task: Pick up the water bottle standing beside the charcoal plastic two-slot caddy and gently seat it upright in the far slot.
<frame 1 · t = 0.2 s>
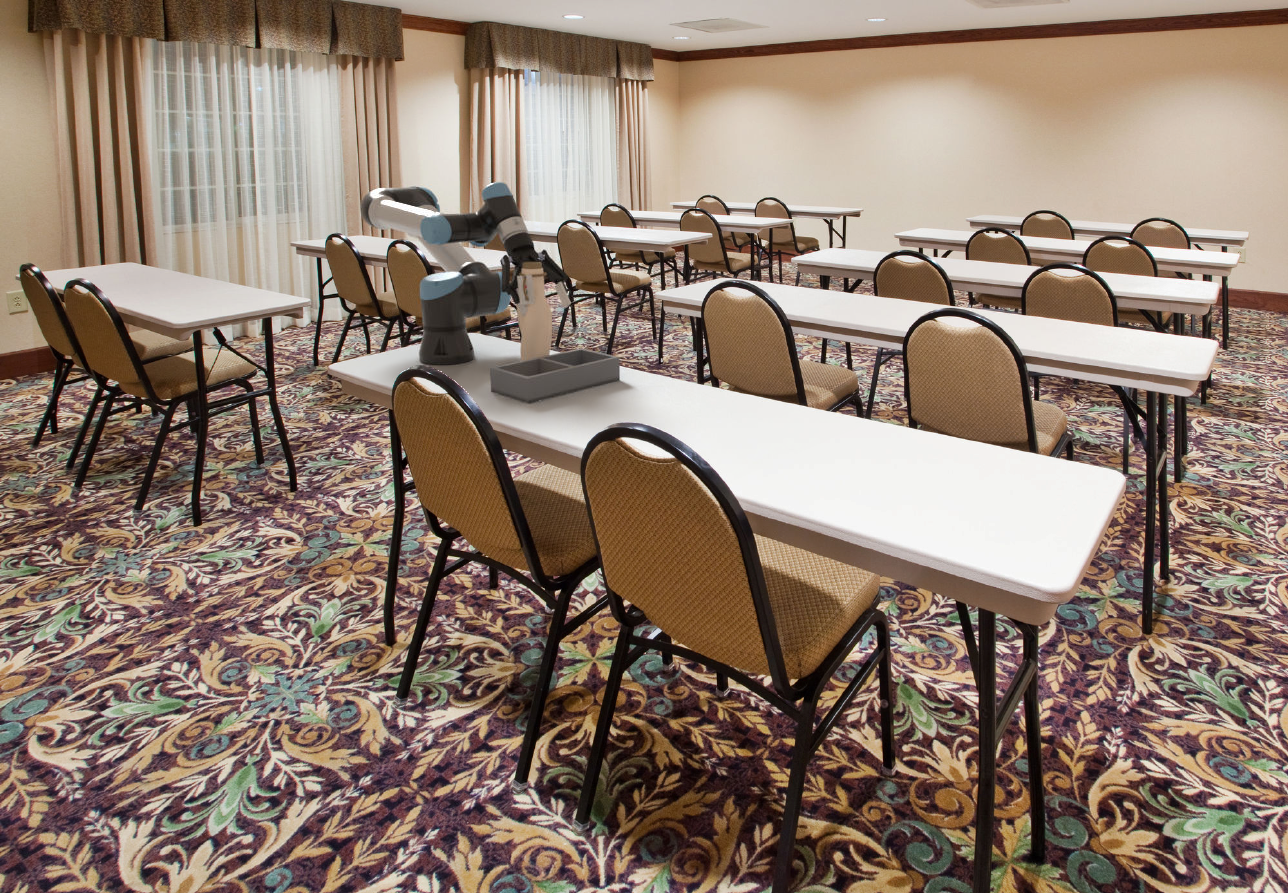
hand: (547, 309, 223), 16 cm above the table, tool tilted 35°, fingers open, 13 cm apart
bottle caddy: (557, 385, 211), on the table
water bottle: (536, 370, 226), on the table
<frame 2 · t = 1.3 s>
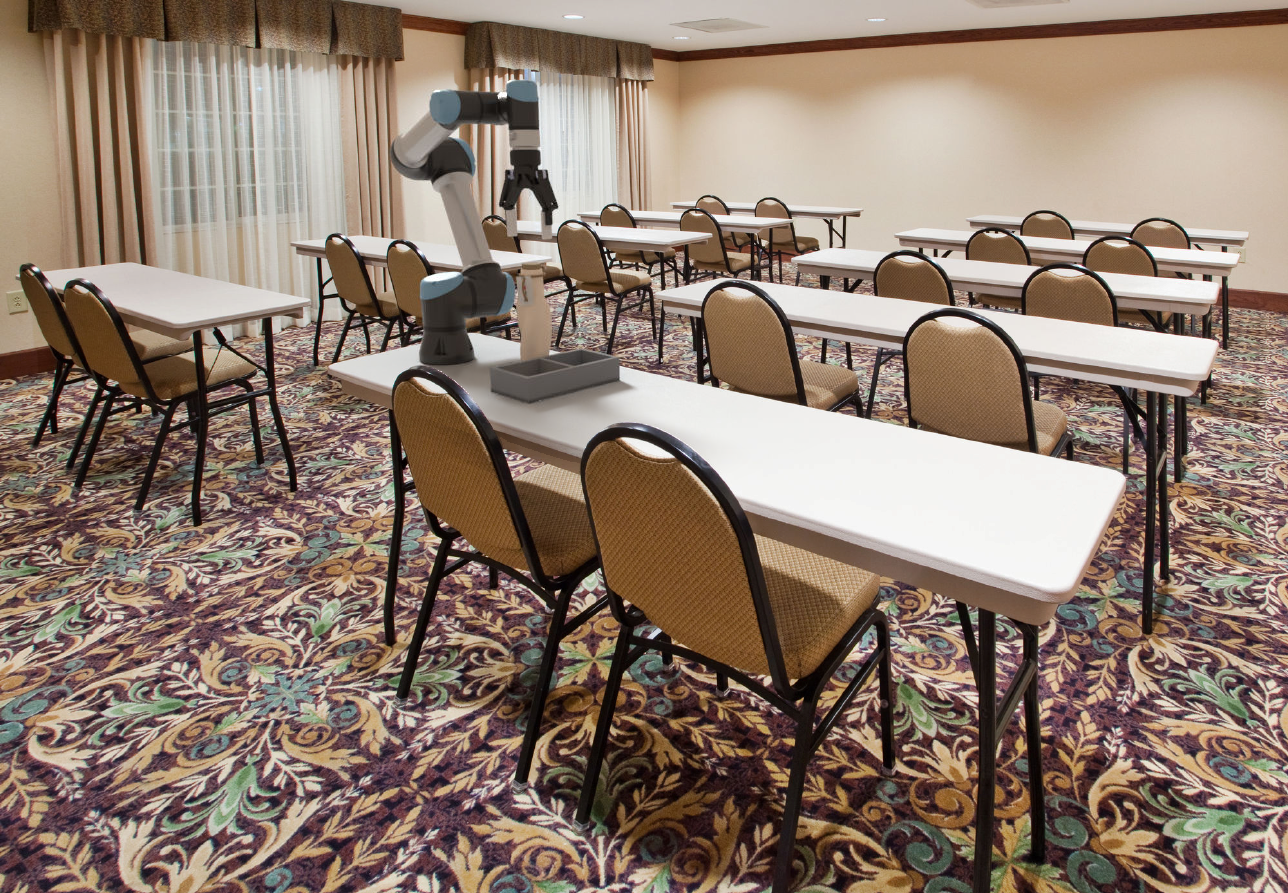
hand: (529, 237, 215), 34 cm above the table, tool pointing down, fingers open, 13 cm apart
nothing on the table moved.
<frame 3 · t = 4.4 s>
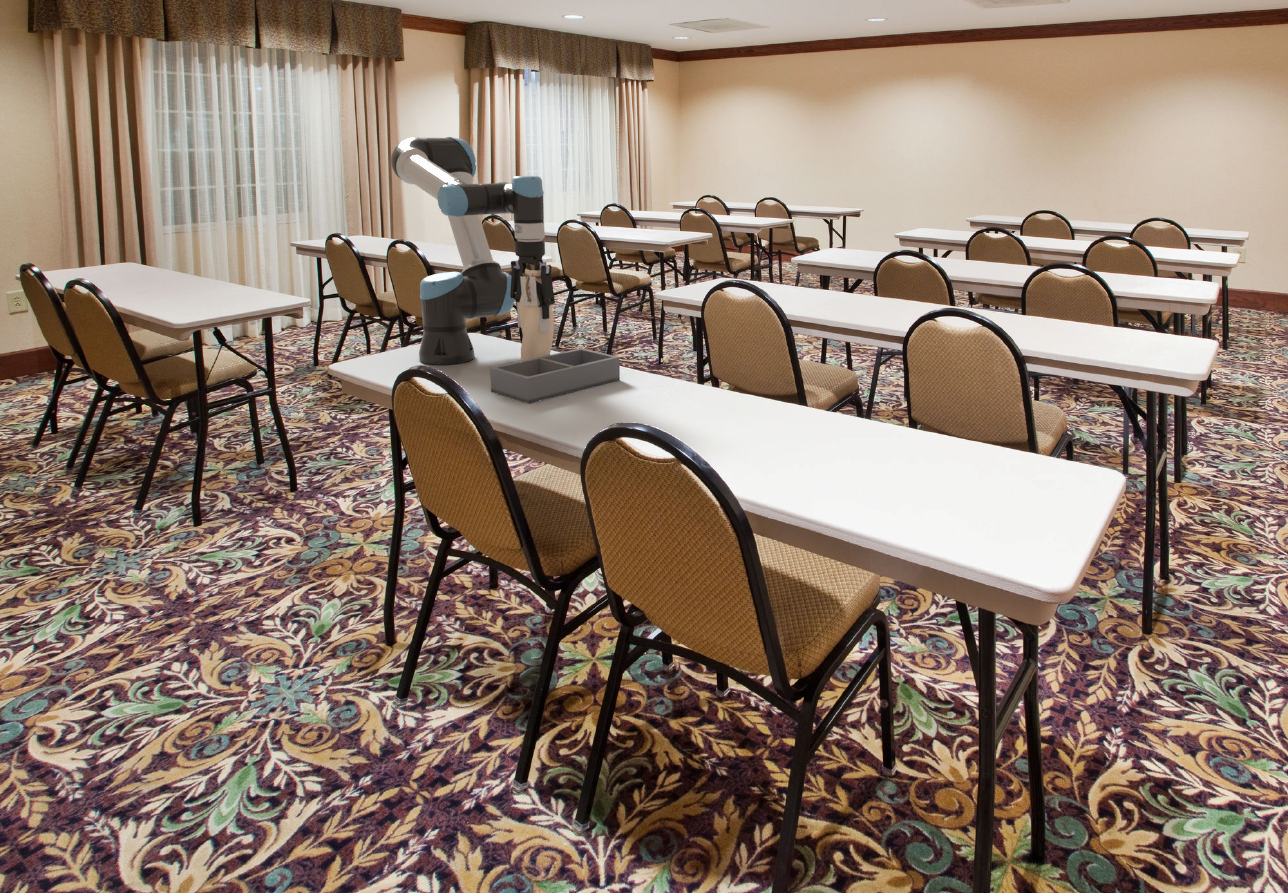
hand: (533, 328, 222), 11 cm above the table, tool pointing down, fingers closed on water bottle, 8 cm apart
water bottle: (535, 370, 226), on the table, touching gripper
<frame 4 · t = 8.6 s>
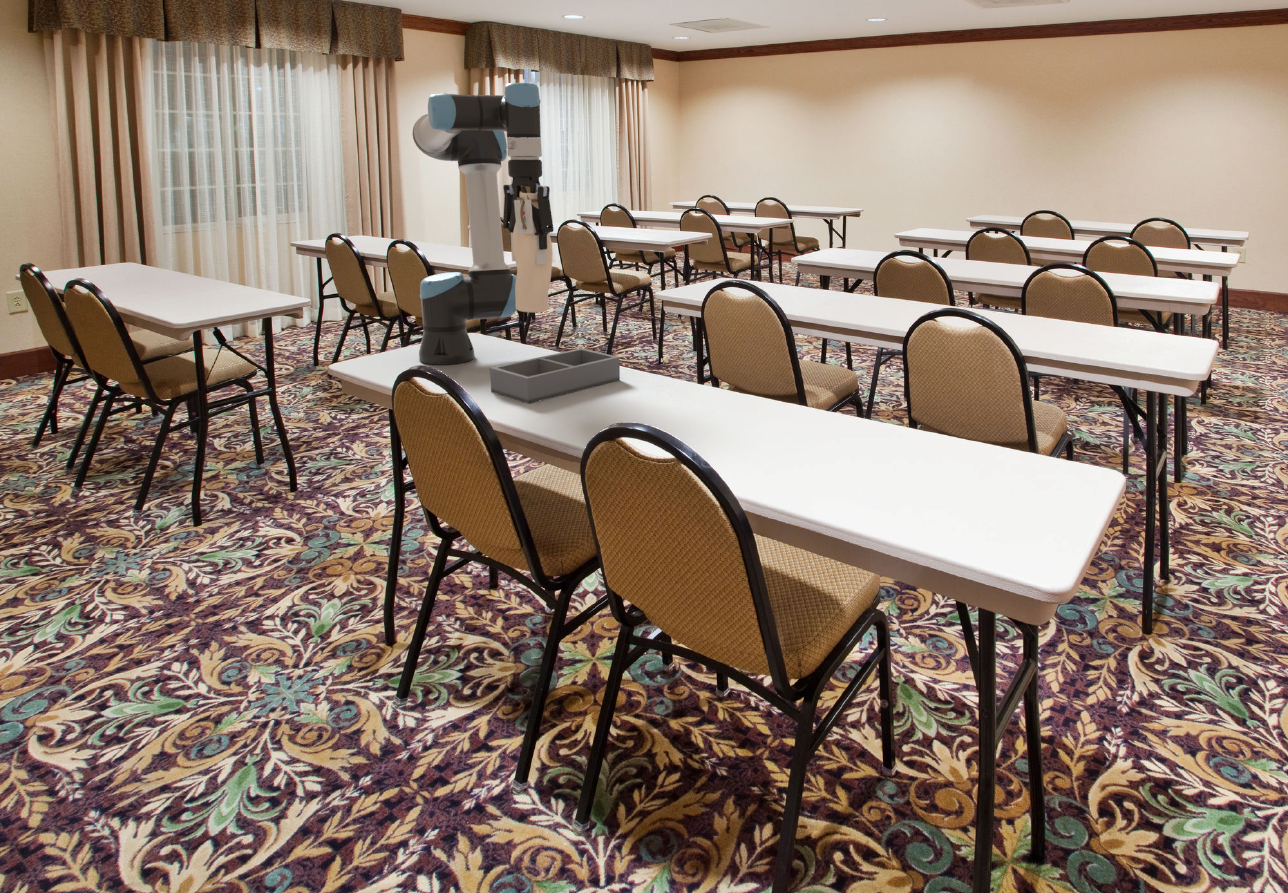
hand: (529, 262, 196), 31 cm above the table, tool pointing down, fingers closed on water bottle, 8 cm apart
water bottle: (532, 310, 200), point 20 cm above the table, touching gripper
when the fingers open (14 cm above the table, at t = 12.6 s): water bottle drops 1 cm, resting on bottle caddy.
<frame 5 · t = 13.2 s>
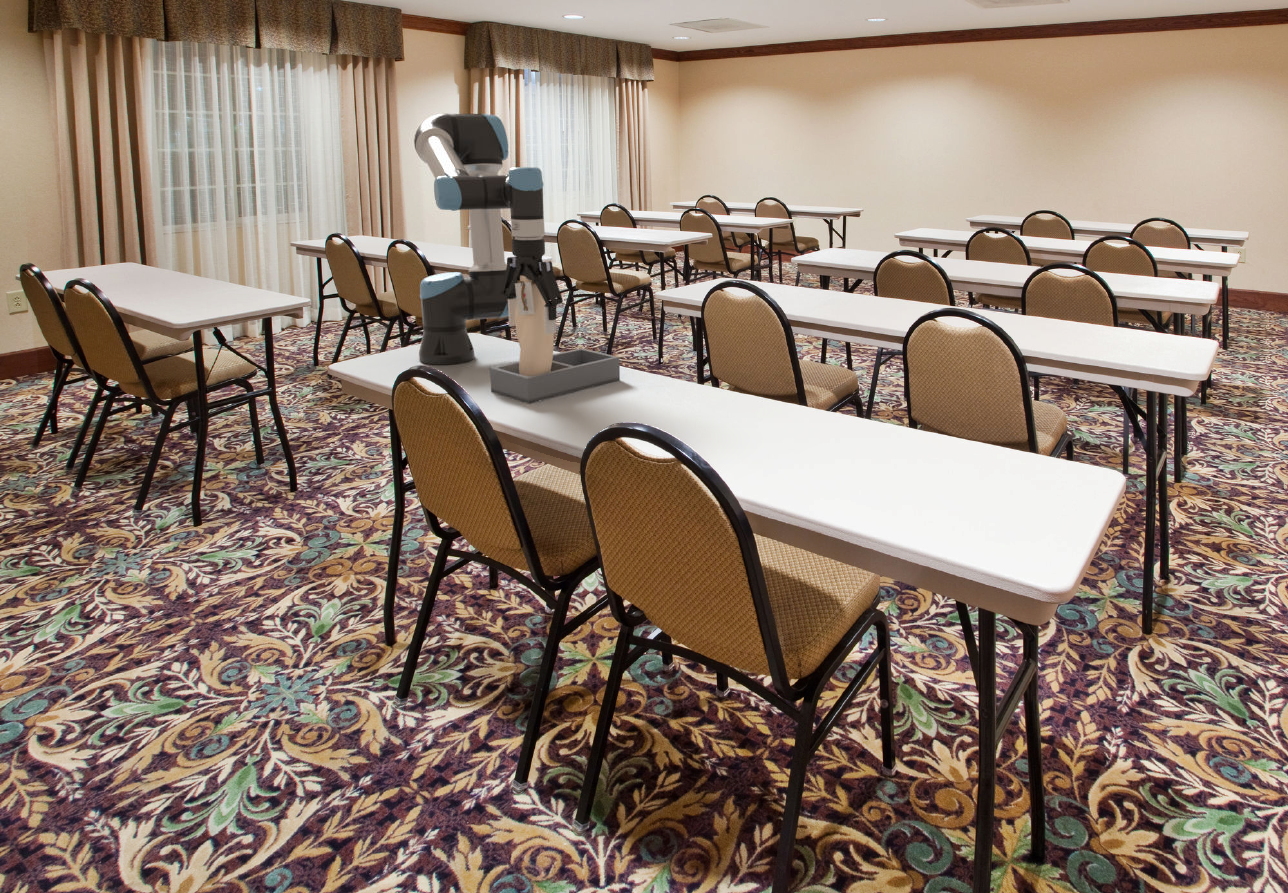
hand: (532, 329, 201), 15 cm above the table, tool pointing down, fingers open, 13 cm apart
water bottle: (536, 387, 206), point 1 cm above the table, touching bottle caddy
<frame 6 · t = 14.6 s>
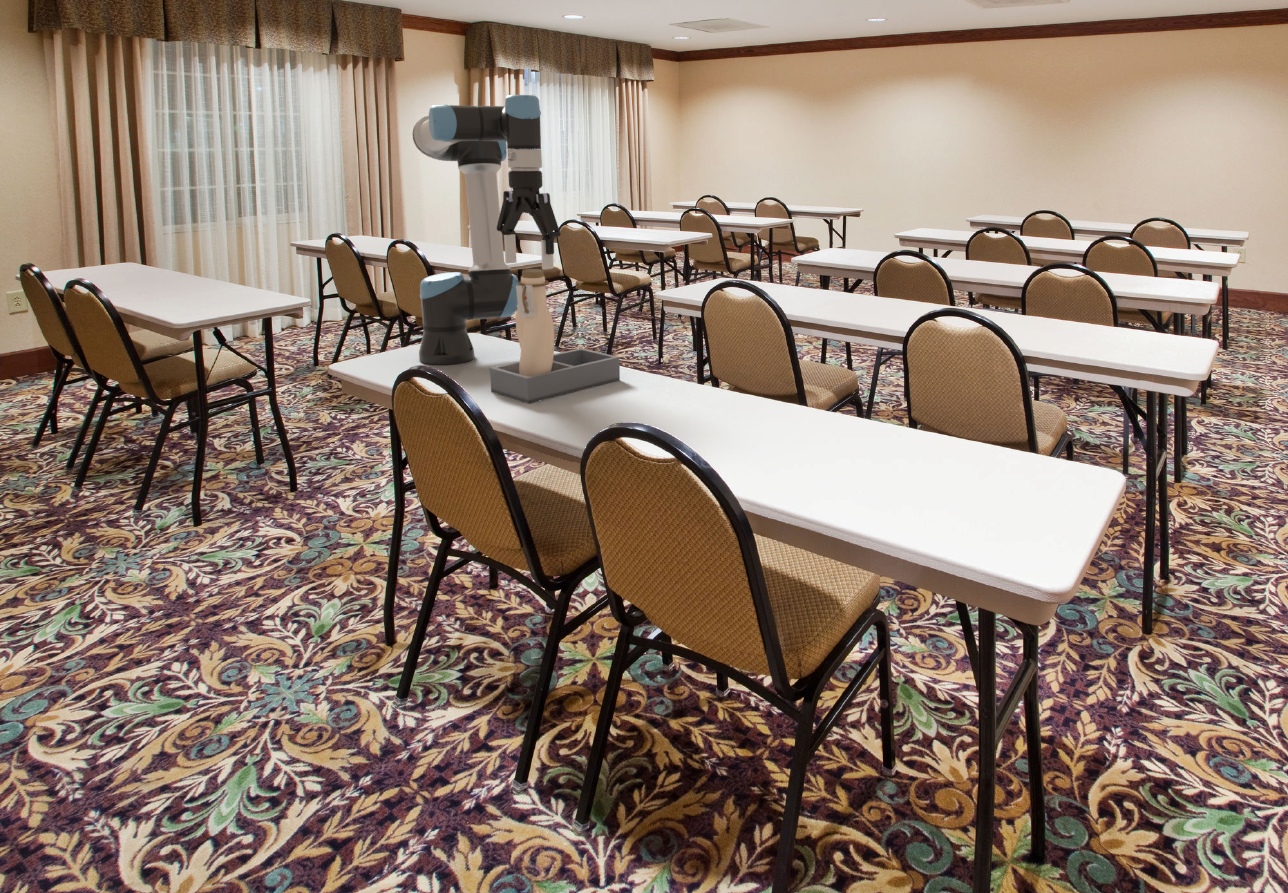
hand: (529, 265, 196), 30 cm above the table, tool pointing down, fingers open, 13 cm apart
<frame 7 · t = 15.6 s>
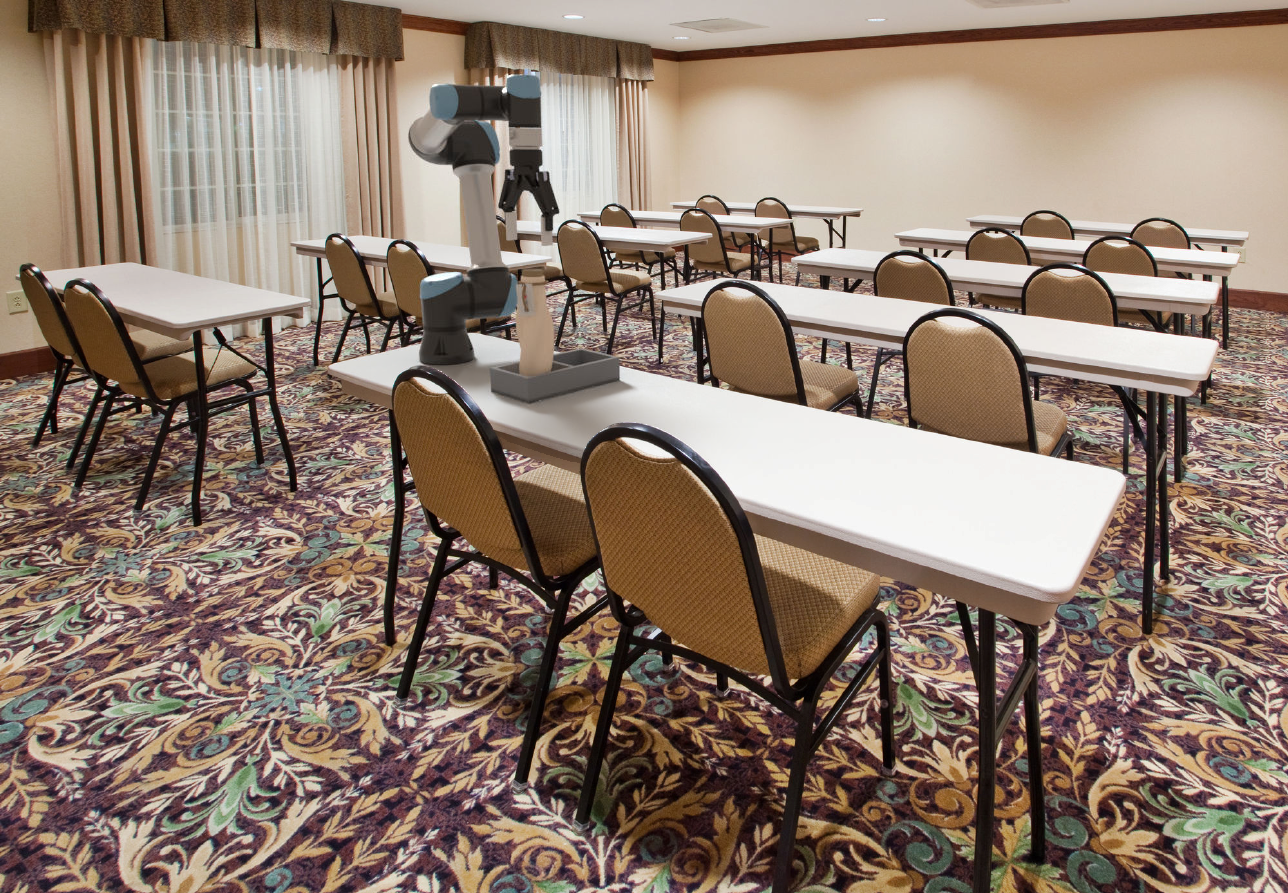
hand: (529, 242, 202), 35 cm above the table, tool pointing down, fingers open, 13 cm apart
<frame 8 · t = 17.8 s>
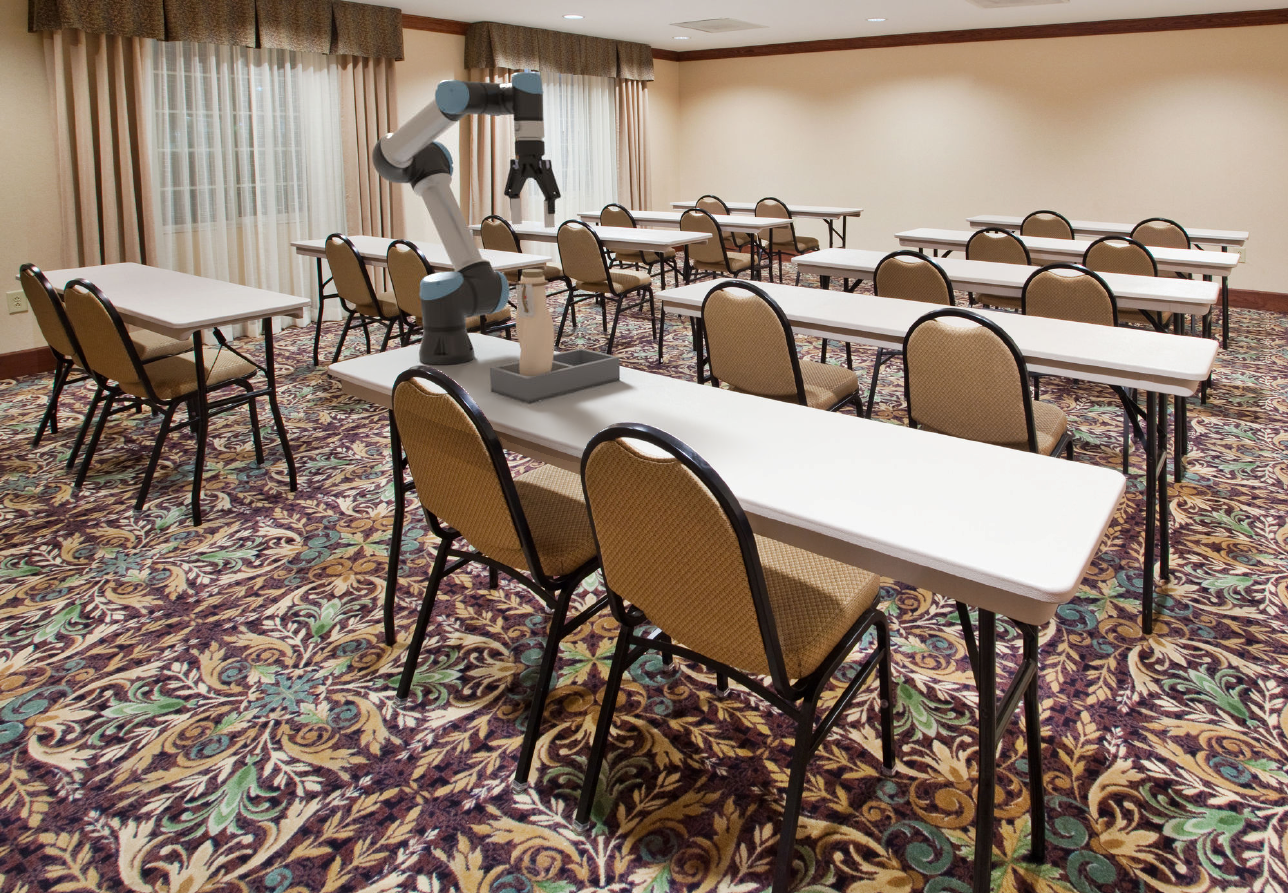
hand: (532, 225, 221), 37 cm above the table, tool pointing down, fingers open, 13 cm apart
nothing on the table moved.
at the end: water bottle 0.4 cm from the target spot on the bottle caddy, point 0.9 cm above the bottle caddy's base; water bottle tilted 1°; the gripper is holding nothing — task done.
